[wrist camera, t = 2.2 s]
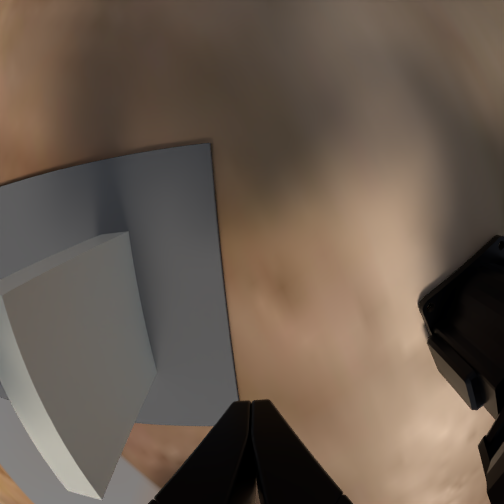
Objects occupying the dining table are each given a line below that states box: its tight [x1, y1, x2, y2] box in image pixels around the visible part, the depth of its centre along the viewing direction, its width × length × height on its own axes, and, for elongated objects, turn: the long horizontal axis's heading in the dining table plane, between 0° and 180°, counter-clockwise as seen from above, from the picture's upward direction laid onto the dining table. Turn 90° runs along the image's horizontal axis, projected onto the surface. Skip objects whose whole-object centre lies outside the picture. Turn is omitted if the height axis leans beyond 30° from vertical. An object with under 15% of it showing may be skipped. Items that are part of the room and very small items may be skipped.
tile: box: [0, 231, 157, 500], centre depth 10 cm, size 2×7×8 cm, turn 5°
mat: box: [0, 143, 239, 426], centre depth 14 cm, size 18×14×1 cm
